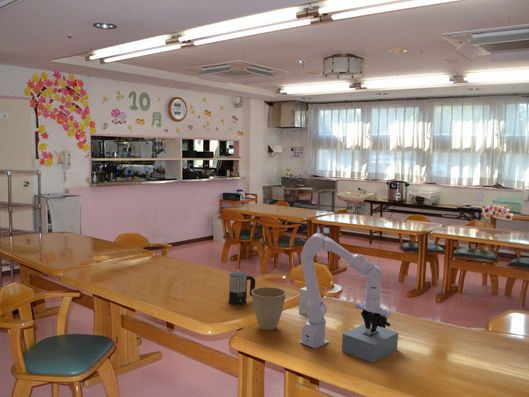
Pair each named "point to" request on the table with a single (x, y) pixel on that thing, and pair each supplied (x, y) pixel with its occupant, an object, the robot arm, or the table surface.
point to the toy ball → (382, 322)
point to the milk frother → (239, 287)
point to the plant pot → (268, 306)
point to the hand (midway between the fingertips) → (370, 330)
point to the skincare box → (303, 301)
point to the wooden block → (370, 331)
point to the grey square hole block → (369, 343)
